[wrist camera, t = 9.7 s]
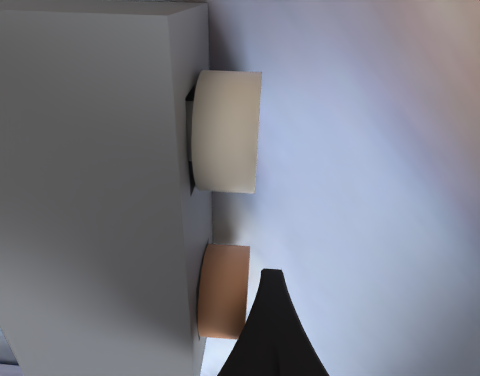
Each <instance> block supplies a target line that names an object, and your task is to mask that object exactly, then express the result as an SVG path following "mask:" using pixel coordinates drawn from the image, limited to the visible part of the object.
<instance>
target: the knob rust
mask: <svg viewBox="0 0 480 376" xmlns="http://www.w3.org/2000/svg"><path fill="white" fill-rule="evenodd" d="M249 258H250V246H236V245H221V244H208V245H207V248H206V251H205V255H204V259H203V265H202V267H201V271H200V275H199V279H198V283H197V288H196V301H197V312H198V332H199V336H200V337H212V338H225V339H237V340H238V338H239V336H240V334H241V332H242V329H243V327H244V325H245V323H246V309H247V293H248V276H249Z"/></svg>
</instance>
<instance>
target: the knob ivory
mask: <svg viewBox="0 0 480 376" xmlns="http://www.w3.org/2000/svg"><path fill="white" fill-rule="evenodd" d="M261 76H262V72H240V71H217V70H202V71H201V72H200V74H199V77H198V80H197V84H196V89H195V95H194V101H185V104H186V122H187V140H188V158H189V161H192V167H193V175H194V181H195V184H196V187H197V189H198V190H200V191H217V192H234V193H251V194H255V182H256V166H257V149H258V132H259V114H260V96H261Z"/></svg>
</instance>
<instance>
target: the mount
mask: <svg viewBox="0 0 480 376" xmlns="http://www.w3.org/2000/svg"><path fill="white" fill-rule="evenodd" d="M202 70H209V27H208V3H193V2H162V1H131V0H0V328H1V330H2V332H3V334H4V336H5V338H6V340H7V342H8V344H9V346H10V348H11V350H12V352H13V354H14V356H15V358H16V360H17V362H18V364H19V366H20V368H21V370H22V372H23V374H24V376H200V372H201V366H202V360H203V355H204V349H205V343H206V338H207V337H200V336H199V332H198V312H197V301H196V288H197V283H198V279H199V275H200V271H201V267H202V265H203V259H204V255H205V251H206V248H207V245H208V244H213V235H212V191H200V190H198V189H197V187H196V184H195V181H194V175H193V167H192V161H189V158H188V140H187V122H186V104H185V101H194V95H195V89H196V84H197V80H198V77H199V74H200V72H201V71H202Z"/></svg>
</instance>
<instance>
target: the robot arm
mask: <svg viewBox="0 0 480 376" xmlns="http://www.w3.org/2000/svg"><path fill="white" fill-rule="evenodd" d="M0 376H24V374H23V372H22V370H21V368H20V366H17V365H6V364H0ZM217 376H329V374H328V373H327V371H326V369H325V368H324V366H323V364H322V363H321V361H320V359H319V358H318V356H317V354H316V352H315V350H314V348H313V347H312V345H311V343H310V341H309V339H308V337H307V335H306V333H305V331H304V329H303V327H302V325H301V322H300V320H299V318H298V315H297V313H296V311H295V308H294V306H293V303H292V301H291V298H290V295H289V293H288V290H287V286H286V283H285V279H284V275H283V272H282V270H277V269H263V270H262V271H261V278H260V284H259V288H258V291H257V294H256V298H255V300H254V303H253V306H252V308H251V311H250V314H249V316H248V319H247V321H246V323H245V325H244V327H243V329H242V332H241V334H240V336H239V338H238V340H237V342H236V344H235V346H234V348H233V350H232V351H231V353H230V355H229V357H228V359H227V360H226V362H225V364H224V365H223V367H222V369H221V370H220V372H219V374H218V375H217Z"/></svg>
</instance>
